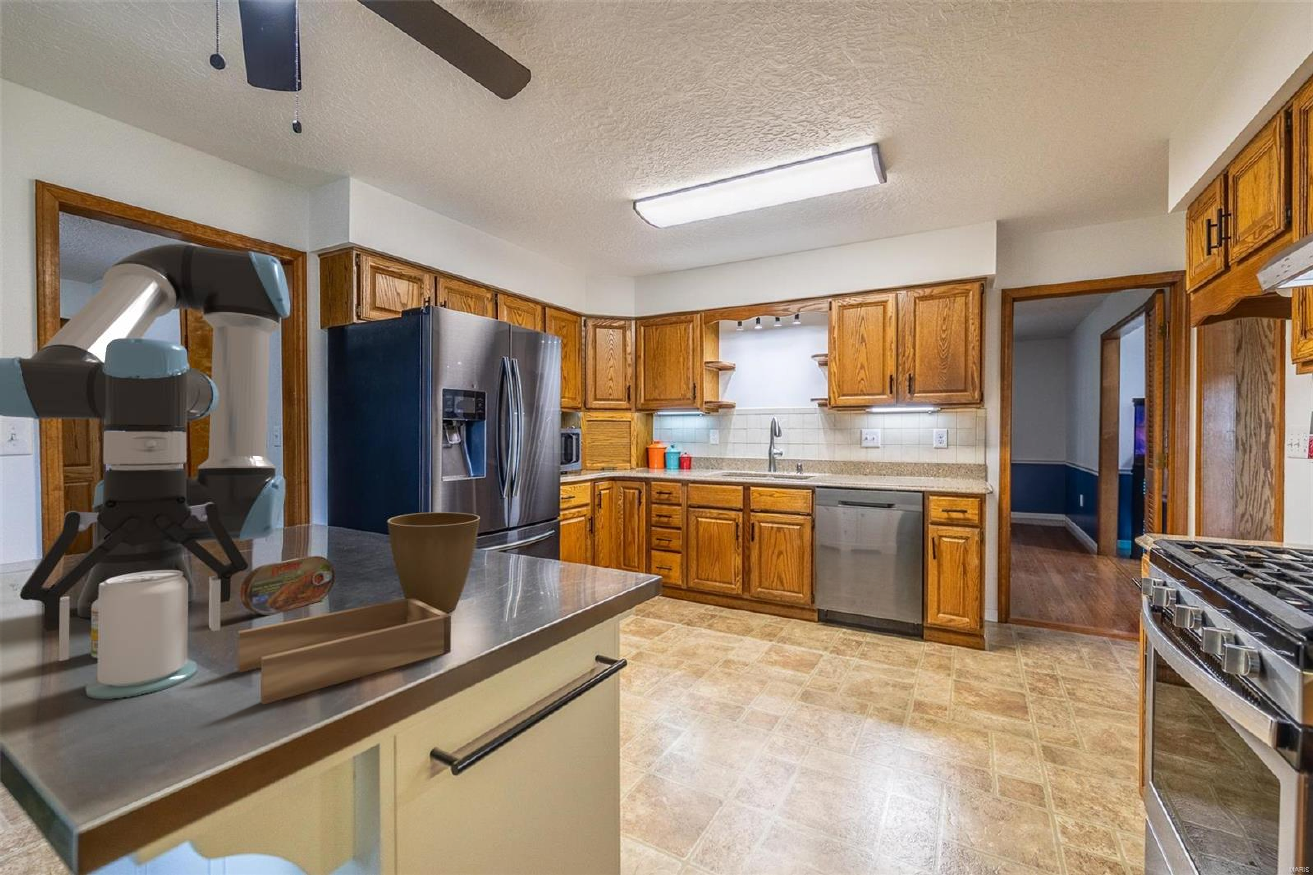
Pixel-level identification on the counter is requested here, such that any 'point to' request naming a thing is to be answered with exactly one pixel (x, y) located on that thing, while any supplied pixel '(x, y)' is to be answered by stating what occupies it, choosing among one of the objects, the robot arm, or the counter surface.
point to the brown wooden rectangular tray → (342, 646)
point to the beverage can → (142, 627)
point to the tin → (287, 585)
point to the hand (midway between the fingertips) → (144, 641)
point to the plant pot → (433, 555)
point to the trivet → (140, 685)
